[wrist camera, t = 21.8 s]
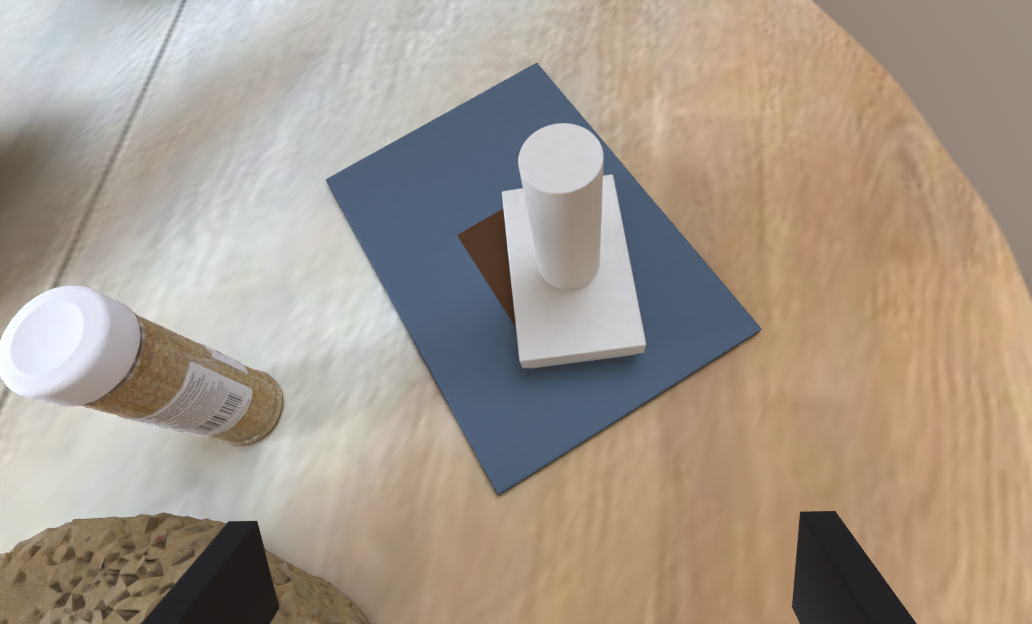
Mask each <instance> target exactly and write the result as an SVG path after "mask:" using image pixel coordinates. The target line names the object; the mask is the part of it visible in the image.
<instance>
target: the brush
mask: <svg viewBox="0 0 1032 624" xmlns="http://www.w3.org/2000/svg"><path fill="white" fill-rule="evenodd" d="M603 161H604V155H603V149H602V146H601V144H600V142H599V141H598V139H597V138H596V137H595V135H594V134H592V133H591V132H590V131H588V130H587V129H585V128H583V127H581V126H578V125H574V124H568V123H559V124H553V125H549V126H546V127H543V128H541V129H539V130H537V131H536V132H534V133H533V134H532V135H531V136H530V137H529V138H528V139H527V140H526V141H525V143H524V144H523V146H522V148H521V150H520V153H519V158H518V165H519V170H520V175H521V180H522V186H523V188H521V189H515V190H508V191H503V192H502V199H503V209H504V218H505V228H506V237H507V247H508V256H509V266H510V276H511V285H512V295H513V304H514V314H515V323H516V333H517V342H518V352H519V361H520V363H521V366H522V368H530V369H531V368H539V367H547V366H555V365H562V364H570V363H578V362H585V361H593V360H601V359H609V358H616V357H624V356H632V355H636V354H638V353H643V352H644V350H645V347H646V340H645V335H644V330H643V325H642V320H641V315H640V310H639V304H638V299H637V294H636V289H635V284H634V279H633V274H632V269H631V264H630V259H629V254H628V248H627V243H626V238H625V233H624V228H623V223H622V218H621V213H620V208H619V203H618V197H617V192H616V187H615V182H614V177H613V175H605V176H603Z"/></svg>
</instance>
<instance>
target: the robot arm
mask: <svg viewBox="0 0 1032 624" xmlns="http://www.w3.org/2000/svg"><path fill="white" fill-rule="evenodd" d="M792 608H793V610H794V612H795V614H796V616H797V618H798V620H799V623H800V624H916V622H915V621H914V619H913V618H912V617H911V615H910V614H909V613H908V611H907V610H906V608H905V607H904V606H903V604H902V603H901V602H900V600H899V599H898V597H897V596H896V595H895V593H894V592H893V590H892V589H891V588H890V586H889V585H888V584H887V582H886V581H885V579H884V578H883V577H882V575H881V574H880V572H879V571H878V570H877V568H876V567H875V566H874V564H873V563H872V561H871V560H870V559H869V557H868V556H867V554H866V553H865V552H864V550H863V549H862V548H861V546H860V545H859V543H858V542H857V541H856V539H855V538H854V536H853V535H852V534H851V532H850V531H849V530H848V528H847V527H846V525H845V524H844V523H843V521H842V520H841V519H840V517H839V516H838V514H837V513H836V512H835V511H813V512H800V520H799V531H798V543H797V555H796V566H795V578H794V590H793V602H792ZM278 610H279V604H278V600H277V596H276V592H275V588H274V584H273V580H272V577H271V573H270V569H269V565H268V561H267V557H266V553H265V549H264V545H263V542H262V538H261V534H260V530H259V526H258V522H257V521H228V523H227V524H226V525H225V526H224V527H223V528H222V530H221V531H220V532H219V533H218V534H217V535H216V537H215V538H214V539H213V540H212V541H211V542H210V544H209V545H208V546H207V547H206V548H205V550H204V551H203V552H202V553H201V554H200V555H199V557H198V558H197V559H196V560H195V561H194V562H193V564H192V565H191V566H190V567H189V568H188V569H187V571H186V572H185V573H184V574H183V575H182V576H181V578H180V579H179V580H178V581H177V582H176V583H175V585H174V586H173V587H172V588H171V589H170V590H169V592H168V593H167V594H166V595H165V596H164V597H163V599H162V600H161V601H160V602H159V603H158V605H157V606H156V607H155V608H154V609H153V610H152V612H151V613H150V614H149V615H148V616H147V617H146V619H145V620H144V621H143V622H142V623H141V624H270V623H271V621H272V620H273V618H274V616H275V615H276V613H277V611H278Z"/></svg>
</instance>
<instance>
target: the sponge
mask: <svg viewBox="0 0 1032 624" xmlns="http://www.w3.org/2000/svg"><path fill="white" fill-rule="evenodd" d="M225 525H226V523H223V522H220V521H212V520H209V519H207V518H206V519H204V520H199V519H195V518H192V517H188V516H186V517H181V516H176V515H173V514H168V513H160V514H157V515H154V516H151V515H143V514H140V515H138V516H136V517H126V518H119V517H108V518H93V519H73V521H72V522H70V523H65V524H64V525H62V526H61V527H58V528H48V529H46V530H44V531H42V532H41V533H39V534H37V535H35V536H34V537H32V538H30V539H28V540H25V541H22V542H19V543H18V544H17V545H16V546H15V547H14V548H13V549H12V550H11V551H10V552H9V553H4V554H0V624H141V623H142V622H143V621H144V620H145V619H146V617H147V616H148V615H149V614H150V613H151V612H152V610H153V609H154V608H155V607H156V606H157V605H158V603H159V602H160V601H161V600H162V599H163V597H164V596H165V595H166V594H167V593H168V592H169V590H170V589H171V588H172V587H173V586H174V585H175V583H176V582H177V581H178V580H179V579H180V578H181V576H182V575H183V574H184V573H185V572H186V571H187V569H188V568H189V567H190V566H191V565H192V564H193V562H194V561H195V560H196V559H197V558H198V557H199V555H200V554H201V553H202V552H203V551H204V550H205V548H206V547H207V546H208V545H209V544H210V542H211V541H212V540H213V539H214V538H215V537H216V535H217V534H218V533H219V532H220V531H221V530H222V528H223V527H224V526H225ZM264 549H265V548H264ZM265 553H266V557H267V561H268V565H269V569H270V573H271V577H272V580H273V584H274V588H275V592H276V596H277V600H278V604H279V610H278V611H277V613H276V615H275V616H274V618H273V620H272V621H271V623H270V624H368V622H367V619H366V617H365V616H364V615H363V614H362V612H361V611H360V610H359V609H358V608H357V606H356V605H355V604H354V603H353V602H352V601H351V600H350V599H348V598H347V597H346V596H345V595H344V594H343V593H341V592H340V591H339V590H337V589H336V588H334V587H333V586H332V585H331V583H328V582H326V581H325V580H323V579H321V578H318V577H315V576H312V575H310V574H307V573H305V572H304V571H302V570H300V569H299V568H297V567H295V566H293V565H292V564H290V563H288V562H286V561H284V560H282V559H280V558H278V557H276V556H275V555H273V554H271V553H269V552H268V551H267V550H266V549H265Z"/></svg>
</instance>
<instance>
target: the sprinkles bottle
mask: <svg viewBox="0 0 1032 624" xmlns="http://www.w3.org/2000/svg"><path fill="white" fill-rule="evenodd" d="M0 376H1V378H2V380H3V381H4V383H5V384H6V385H7V387H9V388H10V389H11V390H12V391H13V392H15V393H17V394H19V395H22V396H24V397H28V398H32V399H36V400H39V401H43V402H47V403H51V404H55V405H60V406H84V407H87V408H92V409H95V410H99V411H102V412H107V413H111V414H115V415H117V416H119V417H122V418H125V419H130V420H134V421H138V422H142V423H146V424H150V425H154V426H158V427H162V428H167V429H171V430H175V431H179V432H183V433H187V434H191V435H196V436H202V437H210V438H214V439H218V440H221V441H222V442H224V443H226V444H231V445H234V446H243V445H248V444H251V443H254V442H256V441H258V440H259V439H261V438H262V437H264V436H265V435H266V434H267V433H268V432H270V430H271V429H272V428H273V426H274V425H275V423H276V422H277V420H278V418H279V416H280V413H281V409H282V391H281V389H280V387H279V385H278V383H277V382H276V381H275V380H274V379H273V378H272V377H271V376H270V375H269V374H267V373H265V372H262V371H258V370H253V369H251V368H249V367H247V366H245V365H242V364H241V363H240V362H239V361H237V360H235V359H233V358H231V357H229V356H227V355H225V354H222V353H220V352H218V351H216V350H214V349H212V348H210V347H207V346H205V345H203V344H200V343H196V342H194V341H192V340H190V339H187V338H185V337H183V336H181V335H178V334H176V333H174V332H172V331H170V330H168V329H166V328H164V327H162V326H160V325H158V324H155V323H153V322H151V321H149V320H147V319H144V318H142V317H139V316H138V315H136V314H135V313H134V312H133V311H132V310H131V309H130V308H129V307H128V306H126V305H125V304H124V303H122V302H120V301H118V300H116V299H114V298H112V297H109V296H107V295H105V294H103V293H101V292H98V291H96V290H94V289H91V288H88V287H84V286H78V285H68V286H61V287H57V288H54V289H51V290H48V291H46V292H44V293H42V294H40V295H38V296H37V297H35V298H34V299H32V300H31V301H30V302H28V303H27V304H26V305H25V306H24V307H23V308H22V309H21V310H20V311H19V312H18V313H17V314H16V315H15V316H14V317H13V319H12V320H11V322H10V323H9V325H8V326H7V328H6V330H5V331H4V333H3V336H2V338H1V341H0Z"/></svg>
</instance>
